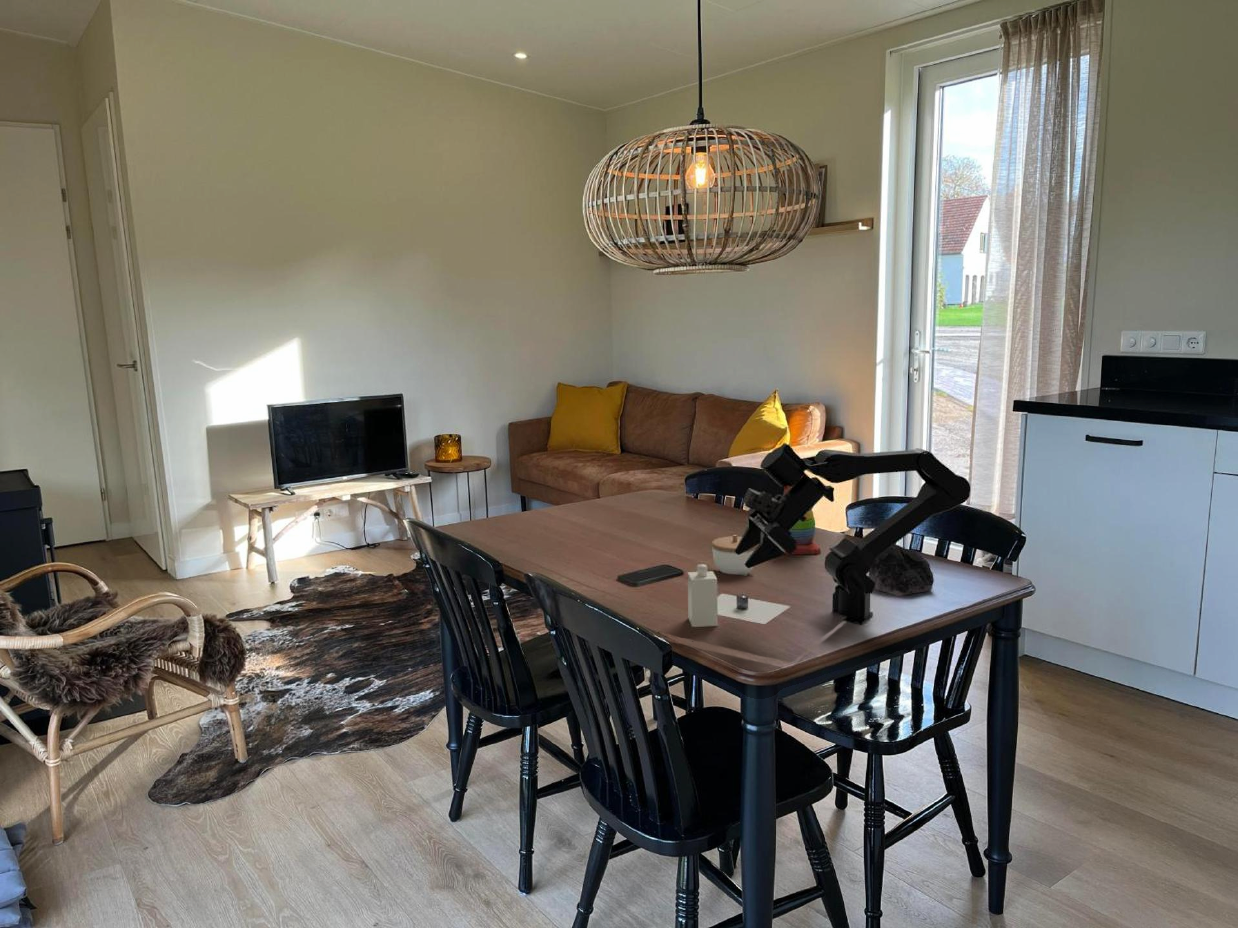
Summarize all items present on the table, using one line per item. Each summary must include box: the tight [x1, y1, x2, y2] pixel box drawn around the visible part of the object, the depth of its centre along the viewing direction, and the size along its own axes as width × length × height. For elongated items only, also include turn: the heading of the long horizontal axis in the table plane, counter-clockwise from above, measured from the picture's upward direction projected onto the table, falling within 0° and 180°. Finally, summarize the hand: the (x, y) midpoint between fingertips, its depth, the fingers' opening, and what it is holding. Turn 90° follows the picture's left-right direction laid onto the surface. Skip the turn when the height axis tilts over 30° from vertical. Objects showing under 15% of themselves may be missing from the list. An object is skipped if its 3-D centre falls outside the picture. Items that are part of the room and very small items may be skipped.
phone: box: [617, 564, 685, 587], centre depth 204 cm, size 8×1×15 cm
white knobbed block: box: [687, 563, 719, 628], centre depth 170 cm, size 5×5×12 cm
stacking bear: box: [783, 486, 822, 556], centre depth 221 cm, size 11×10×18 cm
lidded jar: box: [711, 534, 759, 576], centre depth 204 cm, size 11×11×9 cm
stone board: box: [717, 593, 791, 625], centre depth 178 cm, size 16×12×1 cm
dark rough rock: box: [868, 544, 935, 597], centre depth 191 cm, size 13×14×10 cm
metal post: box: [735, 594, 749, 610], centre depth 178 cm, size 2×2×2 cm
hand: (741, 559), depth 169 cm, fingers open, 9 cm apart
